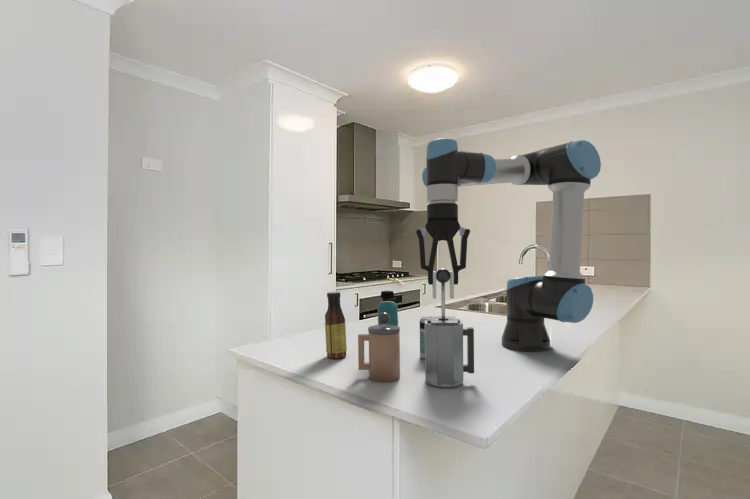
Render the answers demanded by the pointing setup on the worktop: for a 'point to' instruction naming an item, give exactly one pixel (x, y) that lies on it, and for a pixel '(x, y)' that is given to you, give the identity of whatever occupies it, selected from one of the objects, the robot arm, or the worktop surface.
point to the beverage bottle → (388, 308)
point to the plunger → (443, 287)
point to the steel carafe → (447, 352)
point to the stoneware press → (381, 351)
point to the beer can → (422, 336)
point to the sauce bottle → (335, 328)
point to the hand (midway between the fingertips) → (443, 297)
